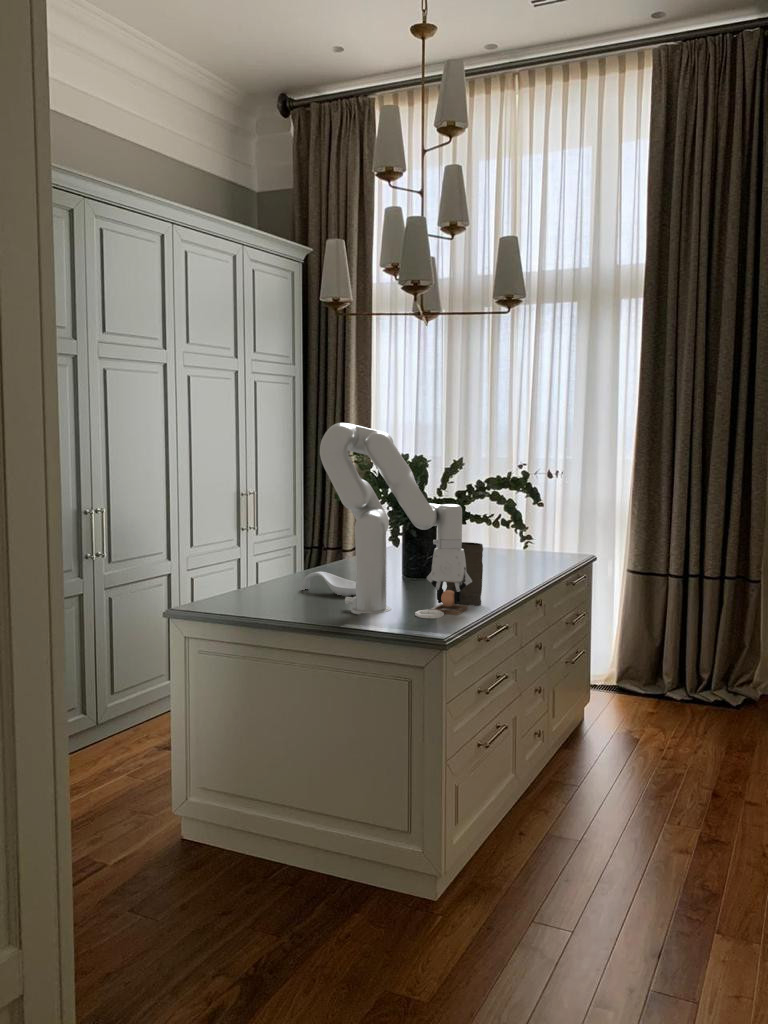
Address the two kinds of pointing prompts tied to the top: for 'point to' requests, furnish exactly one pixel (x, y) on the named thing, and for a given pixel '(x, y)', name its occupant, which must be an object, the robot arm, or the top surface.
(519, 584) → the top surface
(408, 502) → the robot arm
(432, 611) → the octagonal white dish
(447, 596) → the ball
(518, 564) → the top surface
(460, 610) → the tray
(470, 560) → the beer stein
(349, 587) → the spoon rest
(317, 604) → the top surface
